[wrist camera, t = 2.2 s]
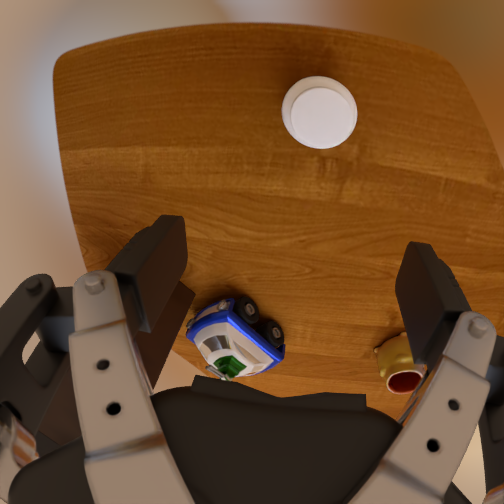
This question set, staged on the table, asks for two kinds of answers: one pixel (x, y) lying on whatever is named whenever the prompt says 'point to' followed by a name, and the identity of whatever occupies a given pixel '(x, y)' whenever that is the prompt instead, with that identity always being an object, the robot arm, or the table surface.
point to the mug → (398, 365)
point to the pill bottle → (319, 112)
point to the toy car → (236, 339)
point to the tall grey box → (153, 356)
